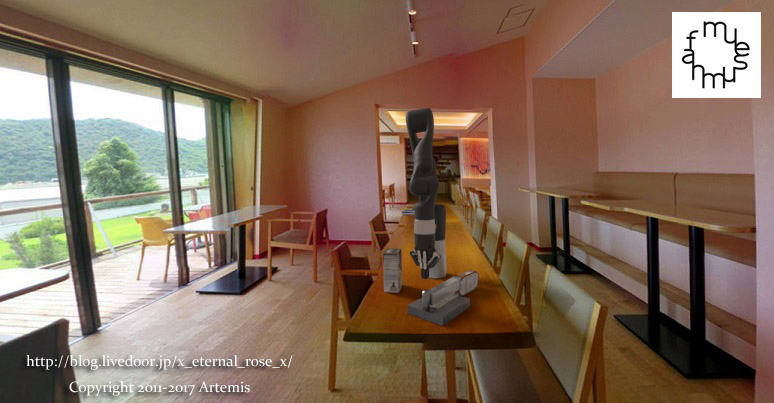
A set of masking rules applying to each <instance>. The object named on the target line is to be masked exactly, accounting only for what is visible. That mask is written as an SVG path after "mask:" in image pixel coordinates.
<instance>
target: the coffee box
mask: <svg viewBox="0 0 774 403" xmlns="http://www.w3.org/2000/svg"><path fill="white" fill-rule="evenodd" d="M402 256H403V255H402V248H386V249H385V251H384V252H383V253H382V267H383V269H382V270H383V291H384V293H395V294H396V293H397V294H399V293H400V291H401V289H402V286H403V265H402V264H403V262H402V261H403V260H402V258H403V257H402Z"/></svg>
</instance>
